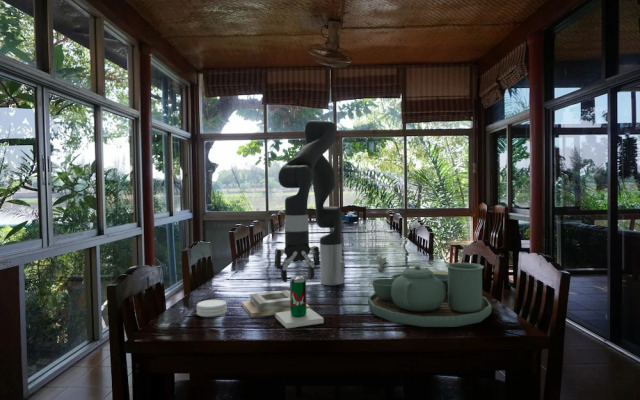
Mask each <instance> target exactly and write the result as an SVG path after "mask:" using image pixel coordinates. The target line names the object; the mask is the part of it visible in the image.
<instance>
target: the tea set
mask: <svg viewBox="0 0 640 400" xmlns="http://www.w3.org/2000/svg"><path fill="white" fill-rule="evenodd" d="M445 266H446V268H447V272H448V275H445V274H433V272H434V271H432V270H430V269H429V268H427V267H425V268H424V267H421V266H420V265H415V267H411V268H410V267H409V268H406V269H404V270H403V271H402V273H397V274H393V275H392V276H391V277H390V278H376V279H373V280H372V281H371V284H372V286H373V290H374V293H373V294H371V295H370V296H368V297H367V305H368V307H369V308H370V310H371V312H372V313H373V315H375V316H377V317H379V318H381V319H384V320H387V321H389V322H392V323H396V324H397V323H398V324H404V325H409V326H414V327H415V326H417V327H420V328H421V327H422V328H456V327H462V326H468V325H471V324H472V325H473V324H478V323H481V322H482V321H483V320H485V319H486V318H488V317H489V316H490V315H491V314H492V309H493V308H492V304H491V303H490V301H489V299H487V297H486V296H483V269H484V267H485V266H484V265H482V264H480V263H472V262H447V263H446V264H445Z"/></svg>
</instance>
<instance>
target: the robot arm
mask: <svg viewBox="0 0 640 400" xmlns="http://www.w3.org/2000/svg"><path fill="white" fill-rule="evenodd" d="M304 137H305V143H306V145H304V146H302V147H301V148H300V150H299V151H298V152H297V154H296V155H295V156H294V157H293V158H292V159H290V160H289V161H288V162H286V163H284V164H283V165H282V167H281V168H280V170H279V172H278V174H277V175H278V177H277V179H278V182H279V184H280V186H281V187H283V188H286V189H298V192H297V193H296V194H294V195H289V196H286V198H285V199H284V212H285V213H284V215H285V216H284V246H285V247H284V248H282V249H281V248H275V250H274V251H275V252H274V267H275V268H276V269H277V270H280V280H282V281H283V282H284V283H287V282H288V274H287V273H288V270H287V269H288V267H289V266H290V265H291V264H292V263H297V262H305V263H306V264H307V265H308V267H307V275H308V276H307V279H309V280H310V281H311V280H313V279H314V277H315V268H316V267H317V266H319V265H320V284H322V285H324V286H337V285H341V284H344V283H345V272H344V271H345V270H344V266H345V264H344V260H343V256H342V254H343V253H342V251H343V250H342V209H341V207H340V206H324V205H325V202H326V200H327V199H328V198H329V196H330V195H331V194H332V193H333V190H334V189H335V186H336V174H335V170H334V167H333V166H332V164H331V163H330V162H329V160H328V159H327V158H326V157H325V155H324V154H325V153H326V152H327V151H328V150H329V149H330V148H331V147H332V146H333V145H334V144H335V141H336V138H337V126H336V124H335V123H334V122H333V121H330V120H319V119H317V120H316V119H311V120H308V121H307V122H306V124H305V126H304ZM311 186H312V189H313V194H314V203H315V220H316V224H317V225H316V226H317V227H319V228H322V229H333V231H331V232H330V233H328V234H326V235H322V236H320V238H319V246H320V247H319V246H316V245H313V246H310V232H309V231H310V228H309V227H310V226H309V225H310V224H309V215H308V212H309V211H308V201H309V194H310V192H311V191H310V190H311ZM310 252H311V253H312V258H313V261H312V259H311V258H310V256H309V254H310ZM284 254H285V258H284V260H283V261H282V257H283V256H284Z"/></svg>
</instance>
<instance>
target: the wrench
mask: <svg viewBox="0 0 640 400" xmlns="http://www.w3.org/2000/svg"><path fill="white" fill-rule="evenodd" d="M376 262H377V270H378V271H382V267H383V265H384V264H386V262H387V257H386V256H382V254H381V253H380V254H376Z"/></svg>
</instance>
